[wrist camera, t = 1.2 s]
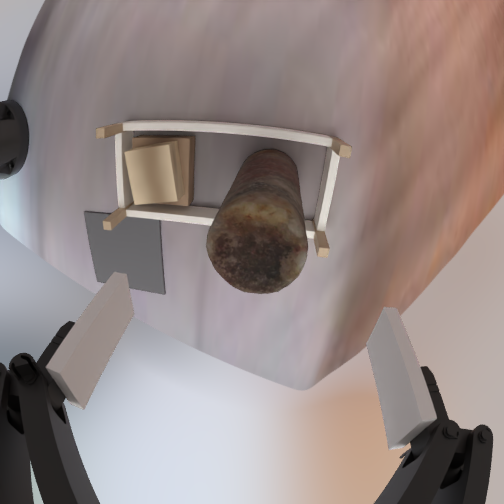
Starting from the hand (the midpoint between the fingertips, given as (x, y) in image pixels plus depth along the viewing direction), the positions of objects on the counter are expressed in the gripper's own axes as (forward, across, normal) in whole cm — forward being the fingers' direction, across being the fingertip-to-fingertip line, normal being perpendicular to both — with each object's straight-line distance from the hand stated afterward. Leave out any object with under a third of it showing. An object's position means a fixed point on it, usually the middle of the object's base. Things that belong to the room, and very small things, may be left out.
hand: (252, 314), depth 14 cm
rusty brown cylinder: (+26, 0, 0) cm, 26 cm away
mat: (+26, -22, -15) cm, 37 cm away
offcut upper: (+24, -14, 0) cm, 28 cm away
